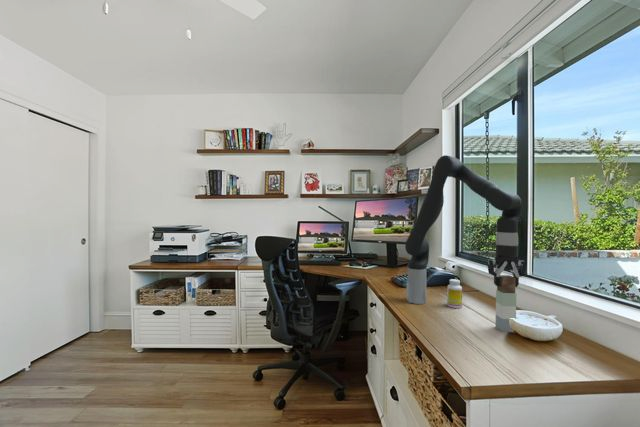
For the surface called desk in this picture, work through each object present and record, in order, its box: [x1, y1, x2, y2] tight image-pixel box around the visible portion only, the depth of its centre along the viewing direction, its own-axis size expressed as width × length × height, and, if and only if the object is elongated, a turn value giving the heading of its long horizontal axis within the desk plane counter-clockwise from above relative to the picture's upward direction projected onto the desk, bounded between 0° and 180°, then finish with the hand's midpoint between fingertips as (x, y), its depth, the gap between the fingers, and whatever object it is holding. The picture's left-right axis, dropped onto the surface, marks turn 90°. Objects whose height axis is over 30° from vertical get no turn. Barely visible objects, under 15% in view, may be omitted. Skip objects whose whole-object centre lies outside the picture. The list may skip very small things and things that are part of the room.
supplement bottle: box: [446, 278, 463, 309], centre depth 142 cm, size 7×7×13 cm
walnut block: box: [496, 274, 516, 293], centre depth 115 cm, size 4×4×6 cm
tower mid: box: [495, 301, 517, 320], centre depth 115 cm, size 5×5×5 cm
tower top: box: [495, 289, 517, 308], centre depth 115 cm, size 5×5×5 cm
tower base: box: [495, 314, 515, 333], centre depth 115 cm, size 5×5×5 cm
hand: (506, 286), depth 115 cm, fingers open, 6 cm apart
